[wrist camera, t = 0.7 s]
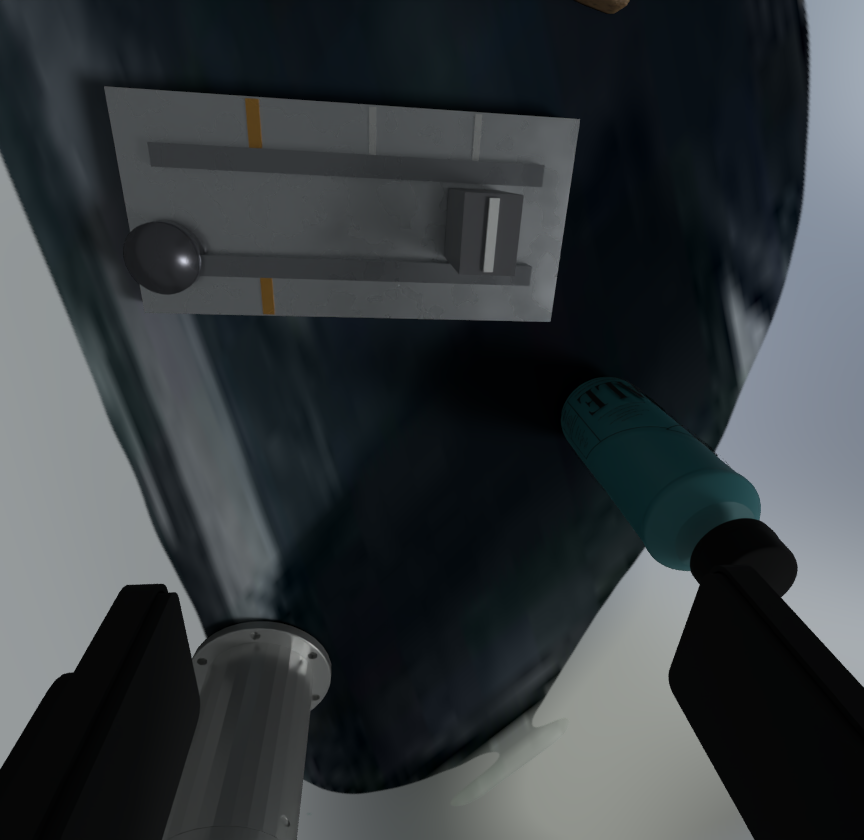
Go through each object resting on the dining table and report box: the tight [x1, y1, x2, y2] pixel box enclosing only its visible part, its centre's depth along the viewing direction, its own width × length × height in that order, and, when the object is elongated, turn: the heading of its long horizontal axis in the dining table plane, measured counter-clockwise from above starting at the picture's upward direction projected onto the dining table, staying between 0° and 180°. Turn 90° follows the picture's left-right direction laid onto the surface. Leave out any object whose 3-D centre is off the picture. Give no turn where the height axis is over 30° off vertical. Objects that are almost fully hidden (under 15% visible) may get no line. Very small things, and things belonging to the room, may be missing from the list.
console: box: [104, 86, 580, 322], centre depth 32 cm, size 12×26×4 cm, turn 87°
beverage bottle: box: [560, 377, 798, 597], centre depth 33 cm, size 6×7×20 cm
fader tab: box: [444, 188, 524, 276], centre depth 30 cm, size 4×3×6 cm
